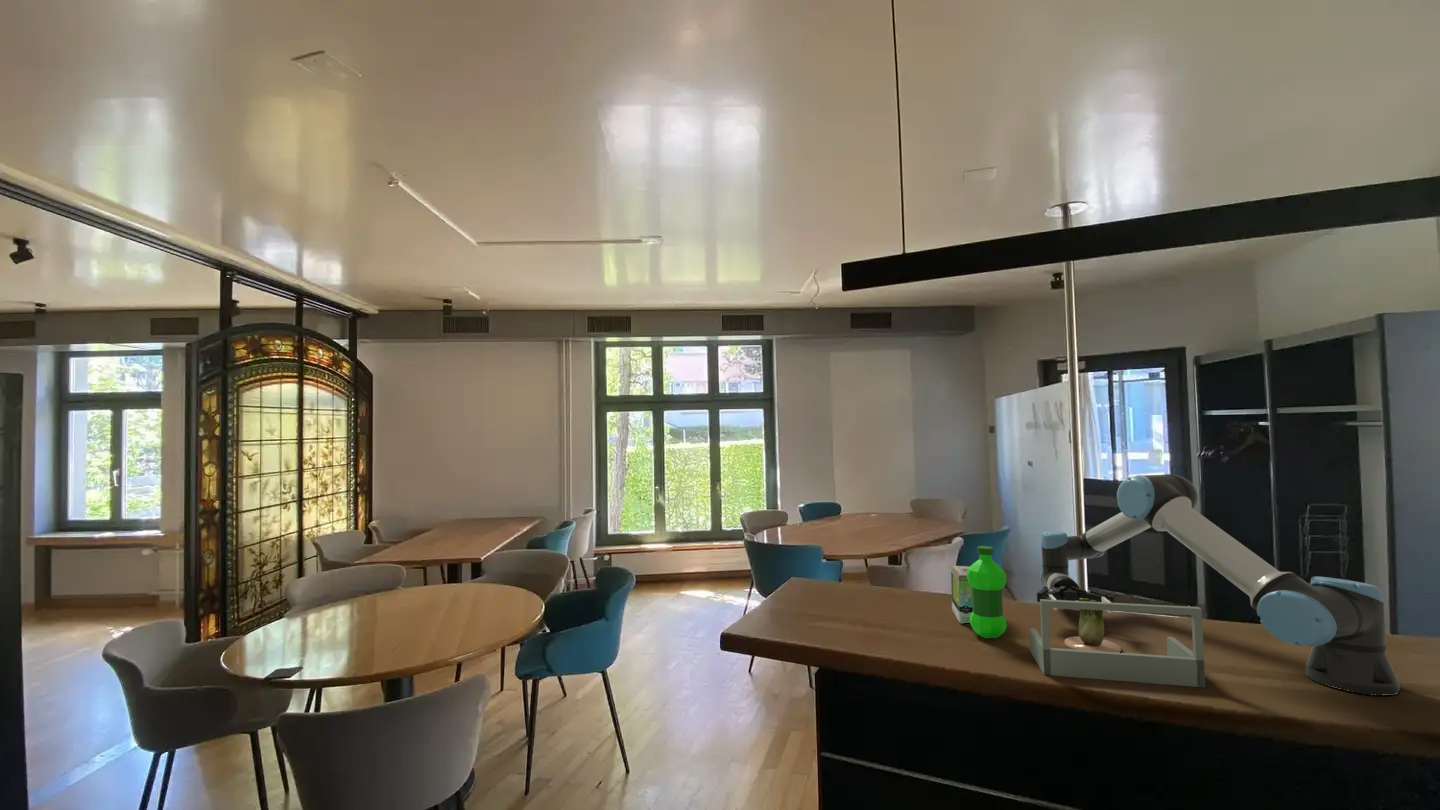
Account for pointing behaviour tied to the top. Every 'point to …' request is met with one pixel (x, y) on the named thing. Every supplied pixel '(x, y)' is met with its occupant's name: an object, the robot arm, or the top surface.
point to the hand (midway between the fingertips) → (1083, 606)
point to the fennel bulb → (1091, 625)
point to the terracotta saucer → (1080, 645)
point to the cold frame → (1122, 666)
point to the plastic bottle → (987, 595)
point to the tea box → (961, 594)
